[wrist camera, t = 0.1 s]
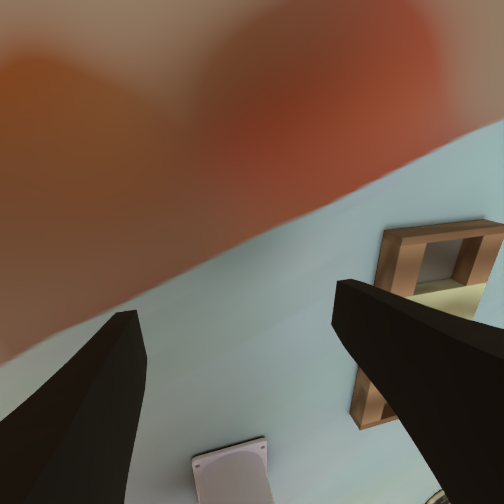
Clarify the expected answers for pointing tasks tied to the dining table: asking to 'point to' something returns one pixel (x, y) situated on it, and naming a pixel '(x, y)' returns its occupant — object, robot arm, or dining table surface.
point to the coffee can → (439, 498)
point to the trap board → (430, 284)
